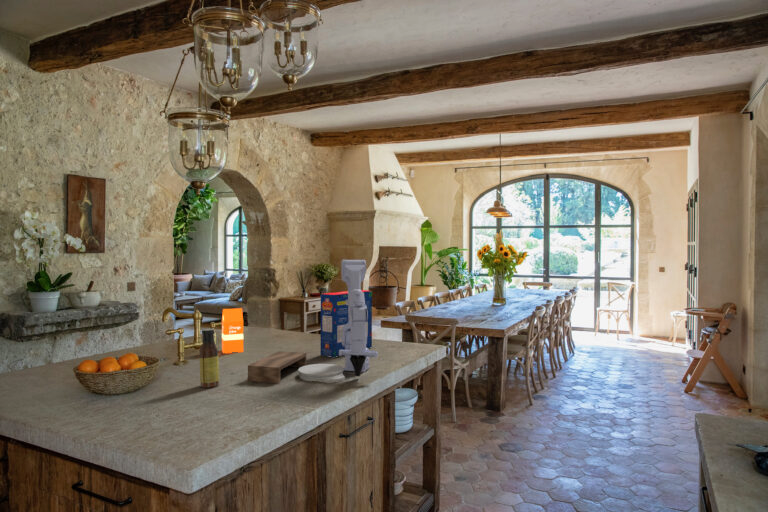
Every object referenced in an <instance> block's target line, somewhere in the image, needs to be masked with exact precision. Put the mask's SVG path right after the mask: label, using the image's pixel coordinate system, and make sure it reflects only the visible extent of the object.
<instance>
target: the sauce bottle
mask: <svg viewBox="0 0 768 512" xmlns="http://www.w3.org/2000/svg"><path fill="white" fill-rule="evenodd" d="M201 335H202V344H201V346H200V348H199V378H200V381H199V382H200V387H202V388H205V389H206V388H207V389H210V388H216V387H217V386H219V385H220V367H219V366H220V364H219V351H218V348H217V345H216V342H215V336H214V335H215V329H214V328H205V329H202V330H201Z"/></svg>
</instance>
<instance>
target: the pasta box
mask: <svg viewBox="0 0 768 512" xmlns="http://www.w3.org/2000/svg"><path fill="white" fill-rule="evenodd" d="M361 291H362V292H363V293H364V298H365V305H366V307H367V311H368V319H367V322H366V319H365V322H366V332H367V344H366V348H369V349H371V348H370V347H372V346H373V344H372V343H373V335H372V333H373V290H367V289H365V290H364V289H361ZM348 322H349V320H348V290H343V291H337V292H336V291H335V292H327V293H326V292H324V293H321V294H320V356H321V355H325V356H331V357H336V356H339V350H345V346H343V345H342V328H343V326H344V325H346V324H347V323H348ZM347 331H351V330H347ZM372 348H373V347H372ZM325 356H324V357H325ZM331 357H330V358H331ZM336 358H337V357H336Z"/></svg>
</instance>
